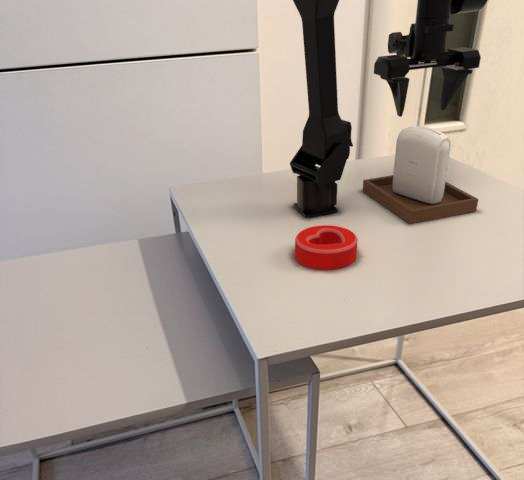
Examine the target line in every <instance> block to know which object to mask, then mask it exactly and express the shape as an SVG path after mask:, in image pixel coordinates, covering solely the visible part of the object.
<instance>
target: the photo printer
mask: <svg viewBox="0 0 524 480" xmlns="http://www.w3.org/2000/svg"><path fill="white" fill-rule="evenodd" d="M395 143H396V144H395V152H394V153H395V154H394V162H393V163H394V165H393V174H392V175H393V186H392V190H393V192H395V193H398V194H400V195H403V196H406V197H409V198H412V199H416V200H419V201H422V202H426V203H430V204H436V203H439V202H441V199H442V198H443V195H444V188H445V182H447V181H446V180H447V174H448V168H449V167H448V166H449V160H450V153H451V146H452V141H451V139H450V138H449V136H447V135H446V134H445V133H443V132H441V131H439V130H437V129H435V128H432V127H428V126H423V125H415V126H408V127H405V128H403V129H401V130H400V131H399V133H398V135H397V139H396V142H395Z"/></svg>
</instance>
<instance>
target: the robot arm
mask: <svg viewBox="0 0 524 480" xmlns="http://www.w3.org/2000/svg"><path fill="white" fill-rule="evenodd" d="M292 2H293V4H294V7H295V8H296V11H297V12H298V14H299V16H300V18H301V25H302V26H301V27H302V38H303V39H302V40H303V50H304V51H303V53H304V64H305V77H306V90H307V91H306V92H307V101H308V102H307V104H308V116H307V120H306V122H305V124H304V127H303V129H302V139H301V140H302V141H301V146H300V147H299V149H298V150H297V151H296V153H295V155H294V156H293V157H292V159H291V160H290V162H289V166H290V169H291V172H292V173H293V174H295V175H297V176H296V202H295V203H294V202H293V207H294V208H295V209H296V210H297V211H298V212H299V213H300V214H301V215H303V216H304V218H312V217H318V216H319V217H320V216H323V215H329V214H334V213H338V212H339V208H338V207H336V206H337V205H338V183H337V181H340V180H342V176H343V174H344V170H345V167H346V163H347V162H348V160H349V158H350V155H351V148H352V147H354V144H353V142H352V130H353V128H352V123H351V121H348V120H345V119H342V118H341V115H340V114H339V100H338V78H337V55H336V53H337V52H336V33H335V32H336V31H335V29H336V28H335V13H336V10H337V7H338V4H339V2H340V0H292ZM487 3H488V0H417V4H416V12H415V22H414V23H410V26H409V32H408V34H404V35H403V33H402V31H396V32H391V33H389V34H388V37H387V38H388V39H387V52H388V54H390V55H381V56H378V57H377V59H376V60H375V61H374V64H373V74H374V75H376V76H379V77H380V79H381V80H384V81H386V83H387V84H388V86H389V89H390V92H391V93H392V99H393V102H394V103H393V104H394V107H395V111H396V115H397V116H398V117H400V118H402V117H403V114H404V111H405V108H406V107H405V106H406V102H407V96H408V91H409V84H410V77H406V76H407V75H408V74H409V72H410V71H413V70H421V69H431V68H440V67H441V72H442V76H443V81H442V88H441V95H440V103H439V110H440V111H442V112H443V111H444V112H445V111H446V110H447V108H448V106H449V105H450V103H451V101H452V99H453V98H454V96H455V94H456V93H457V91H458V90H459V88H460V87H461V85H462V84H463V83H464V81H465V80H466V78H467V77H468V76H469V75H471V74H473V69H479V68H480V63H481V58H482V56H481V53H480V51H479V49H475V48H470V47H465V46H462V47H453V48H447V41H448V35H449V32H453V31H454V26H455V25H454V23H450V22H451V21H450V20H451V15H457V14H458V15H459V14H465V13H473V12H478V11H480V10H482V9H483V8H484V7H485V6H486V4H487Z"/></svg>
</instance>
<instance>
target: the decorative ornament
mask: <svg viewBox="0 0 524 480" xmlns="http://www.w3.org/2000/svg"><path fill="white" fill-rule="evenodd" d="M358 242H359V241H358V237H357V235H356V233H354V231H352V230H350V229H349V228H346V227H342V226H339V225H338V226H337V225H329V224H326V225H325V224H323V225H321V224H320V225H314V226H310V227H307V228H304V229H302V230H301V231H299V232H298V233H297V235H296V236H295V238H294V258H295V260H296V261H297V262H298V263H299V264H300V265H302V266H304V267H306V268H308V269H314V270H321V271H333V270H339V269H343V268H346V267H348V266H351V265H352V264H354V262H355V261H356V260H357V254H358Z"/></svg>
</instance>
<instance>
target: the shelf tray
mask: <svg viewBox="0 0 524 480" xmlns="http://www.w3.org/2000/svg"><path fill="white" fill-rule="evenodd" d="M392 186H393V174H392V175H385V176H379V177H372V178H367V179H363V180H362V192H363V193H364V194H366V195H367V196H369V197H370V198H372V199H373V200H375V201H376V202H377V203H379V204H380V205H382V206H383V207H384V208H386V209H387V210H389V211H390V212H392V213H393V214H395V215H396V216H398V217H399V218H400V219H401V220H403V221H405V222H406V223H407V224H409V225H412V224H416V223H417V224H418V223H422V222H427V221H432V220H437V219H442V218H443V219H444V218H449V217H453V216H459V215H464V214H470V213H474V212H477V209H478V204H479V198H478V197H475V196H473V195H471V194H470V193H468V192H466V191H464V190H462V189H460V188H459V187H457V186H455V185H453V184H452V183H449V182H447V181H445V188H444V195H443V198H442V199H441V202H439V203H436V204H430V203H426V202H422V201H419V200H416V199H412V198H409V197H406V196H403V195H400V194H398V193H395V192H393V190H392Z"/></svg>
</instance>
